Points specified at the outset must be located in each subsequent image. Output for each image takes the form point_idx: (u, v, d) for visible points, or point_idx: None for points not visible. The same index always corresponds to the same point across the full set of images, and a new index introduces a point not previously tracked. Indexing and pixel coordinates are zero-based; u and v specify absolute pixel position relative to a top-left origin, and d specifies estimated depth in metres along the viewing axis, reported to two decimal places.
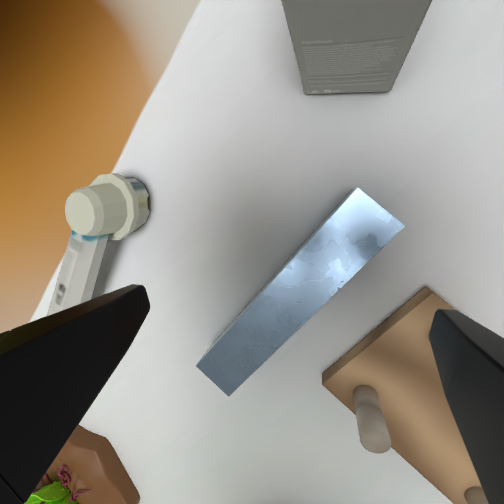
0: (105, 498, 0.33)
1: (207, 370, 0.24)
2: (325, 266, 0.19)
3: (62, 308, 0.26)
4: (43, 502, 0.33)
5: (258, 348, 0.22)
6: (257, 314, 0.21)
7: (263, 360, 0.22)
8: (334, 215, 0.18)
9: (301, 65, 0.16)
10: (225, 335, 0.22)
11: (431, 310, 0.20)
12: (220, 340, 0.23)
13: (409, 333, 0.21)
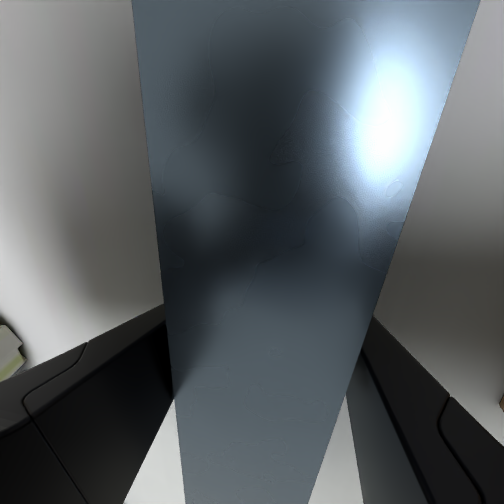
0: None
1: None
2: (275, 172, 0.04)
3: None
4: None
5: (271, 485, 0.08)
6: (206, 419, 0.07)
7: None
8: None
9: None
10: (186, 476, 0.09)
11: None
12: (186, 486, 0.09)
13: None
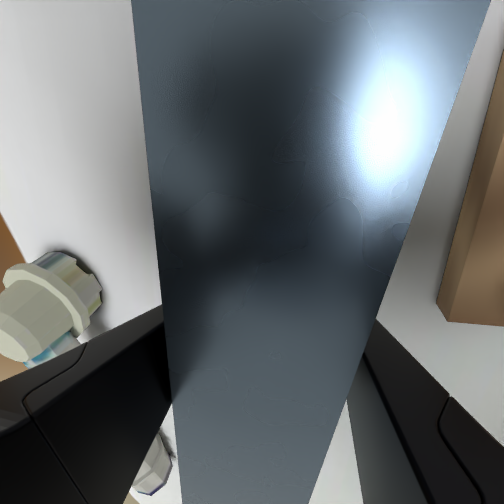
0: None
1: None
2: (278, 172, 0.04)
3: None
4: None
5: (270, 490, 0.08)
6: (205, 422, 0.07)
7: None
8: None
9: None
10: (183, 479, 0.09)
11: None
12: (184, 489, 0.09)
13: None
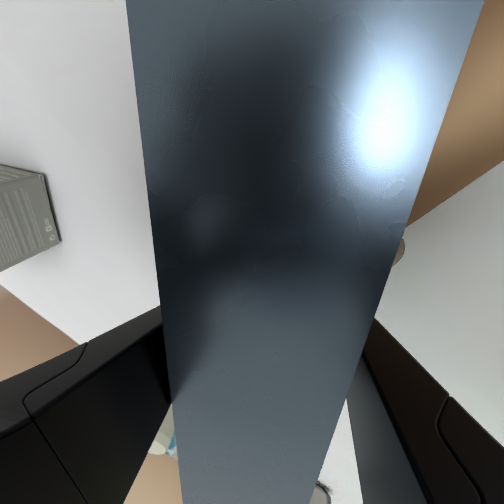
0: None
1: None
2: (274, 172, 0.04)
3: None
4: None
5: (270, 491, 0.08)
6: (204, 423, 0.07)
7: None
8: None
9: (7, 266, 0.20)
10: (184, 480, 0.09)
11: None
12: (184, 490, 0.09)
13: None
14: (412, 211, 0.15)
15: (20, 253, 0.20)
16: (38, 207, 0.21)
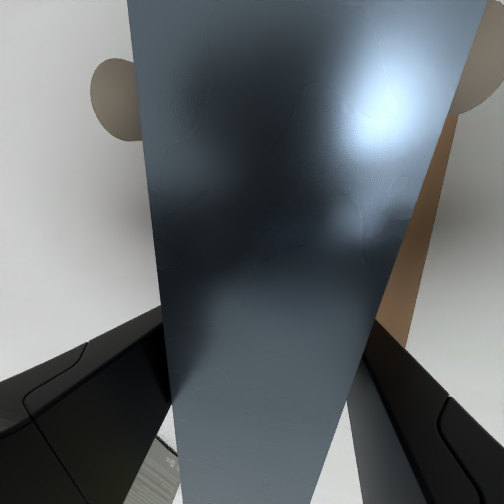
0: None
1: None
2: (275, 168, 0.04)
3: None
4: None
5: (270, 490, 0.08)
6: (204, 422, 0.07)
7: None
8: None
9: None
10: (184, 480, 0.09)
11: None
12: (184, 490, 0.09)
13: None
14: (399, 318, 0.13)
15: (166, 502, 0.25)
16: (156, 456, 0.26)
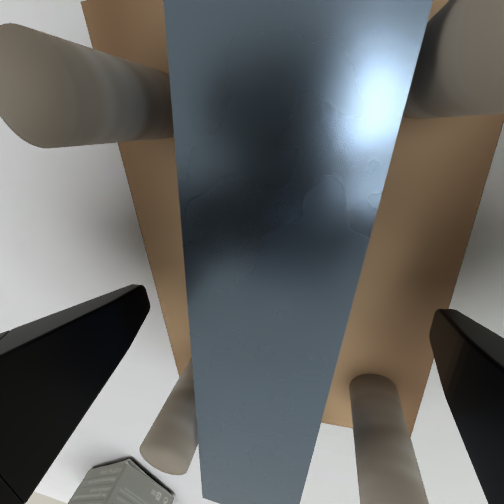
0: None
1: (225, 499, 0.11)
2: (279, 157, 0.05)
3: None
4: None
5: (278, 443, 0.09)
6: (221, 381, 0.08)
7: (306, 460, 0.09)
8: None
9: None
10: (201, 440, 0.10)
11: None
12: (201, 451, 0.10)
13: None
14: (416, 360, 0.11)
15: None
16: (140, 488, 0.23)
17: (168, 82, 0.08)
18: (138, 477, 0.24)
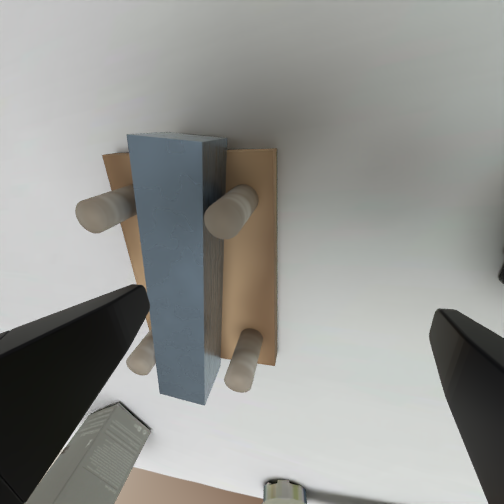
0: None
1: (171, 392, 0.22)
2: (172, 240, 0.15)
3: None
4: None
5: (189, 352, 0.19)
6: (162, 322, 0.18)
7: (202, 360, 0.19)
8: (134, 181, 0.14)
9: (129, 469, 0.32)
10: (156, 356, 0.20)
11: None
12: (157, 362, 0.21)
13: None
14: (267, 320, 0.21)
15: (132, 456, 0.33)
16: (126, 422, 0.34)
17: None
18: (125, 415, 0.34)
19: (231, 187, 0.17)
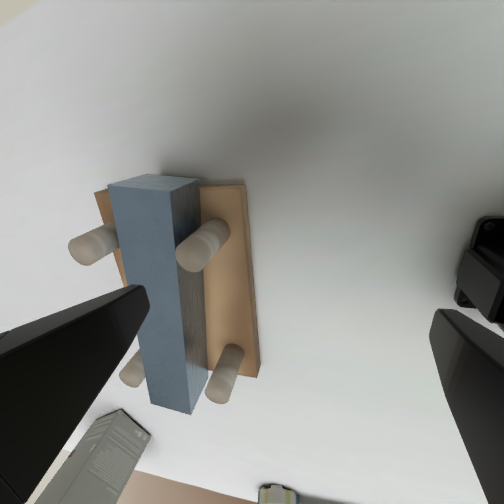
0: None
1: (160, 402, 0.24)
2: (151, 271, 0.17)
3: None
4: None
5: (174, 367, 0.21)
6: (148, 341, 0.21)
7: (185, 375, 0.21)
8: (116, 222, 0.16)
9: (130, 472, 0.34)
10: (145, 370, 0.22)
11: None
12: (146, 375, 0.23)
13: None
14: (247, 336, 0.23)
15: (133, 460, 0.35)
16: (127, 428, 0.36)
17: None
18: (126, 421, 0.36)
19: (206, 220, 0.19)
